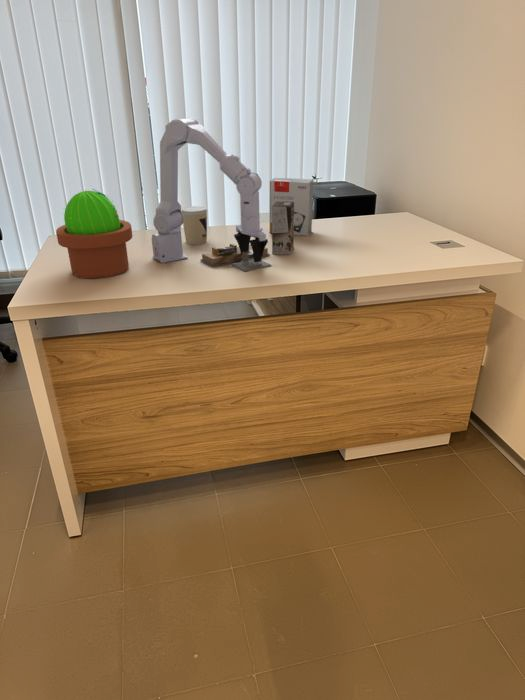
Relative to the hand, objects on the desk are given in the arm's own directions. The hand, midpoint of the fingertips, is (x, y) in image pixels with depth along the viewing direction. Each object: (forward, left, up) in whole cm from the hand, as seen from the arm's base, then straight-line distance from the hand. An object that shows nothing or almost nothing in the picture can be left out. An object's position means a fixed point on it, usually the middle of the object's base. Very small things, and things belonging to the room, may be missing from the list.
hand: (251, 258), depth 165 cm
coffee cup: (-1, +37, -2) cm, 37 cm away
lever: (-4, +10, +1) cm, 11 cm away
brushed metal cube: (0, 0, -2) cm, 2 cm away
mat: (0, 0, -2) cm, 2 cm away
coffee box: (+18, +8, -2) cm, 20 cm away
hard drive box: (+35, +27, -3) cm, 44 cm away
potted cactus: (-41, +24, -2) cm, 48 cm away
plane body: (0, +10, -2) cm, 10 cm away
